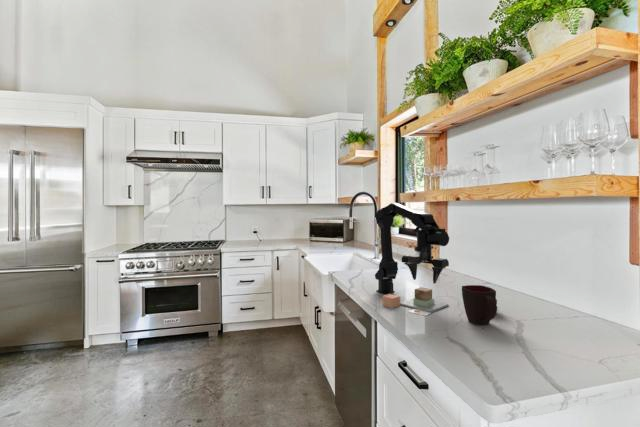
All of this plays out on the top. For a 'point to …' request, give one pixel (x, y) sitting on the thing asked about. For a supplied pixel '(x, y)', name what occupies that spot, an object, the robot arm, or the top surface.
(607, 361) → the top surface
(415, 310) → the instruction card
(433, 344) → the top surface
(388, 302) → the brick terracotta
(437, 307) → the plate
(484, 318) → the cup
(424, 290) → the brown block
